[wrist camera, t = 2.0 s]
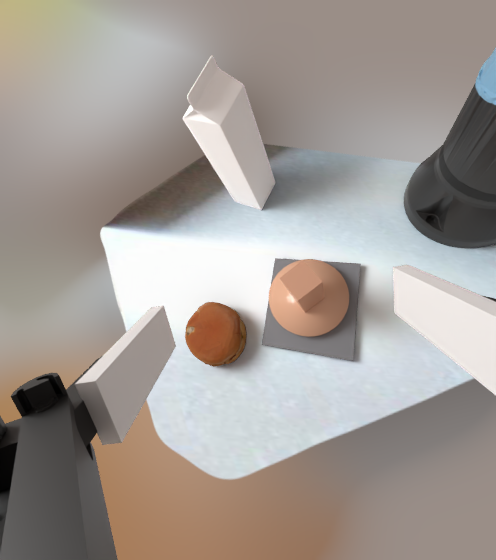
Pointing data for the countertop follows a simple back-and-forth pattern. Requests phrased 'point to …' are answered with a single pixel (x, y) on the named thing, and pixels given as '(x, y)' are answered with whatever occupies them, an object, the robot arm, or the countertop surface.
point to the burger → (215, 334)
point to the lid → (309, 298)
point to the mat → (328, 344)
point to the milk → (229, 135)
